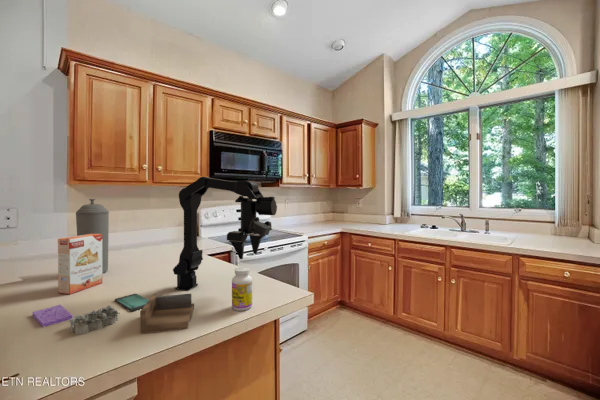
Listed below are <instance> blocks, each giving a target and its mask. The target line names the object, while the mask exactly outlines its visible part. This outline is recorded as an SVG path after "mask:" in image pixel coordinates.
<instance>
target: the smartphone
mask: <svg viewBox="0 0 600 400" xmlns="http://www.w3.org/2000/svg"><path fill="white" fill-rule="evenodd" d="M149 300H150V299H148V298H145V297H144V296H142V295H140V294H139V293H132V294H129V295H124V296H121V297H117V298H114V302H115V303H117V304H119V305H120V306H121V308H123V309H125V310H127V311H128V310H129V312H133V313H134V312H136V311H137V310H138V311H141V310H142V309H143V307H144V306H145V305H146V303H147V302H148V301H149ZM140 309H141V310H140Z"/></svg>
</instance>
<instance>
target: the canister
mask: <svg viewBox="0 0 600 400" xmlns="http://www.w3.org/2000/svg"><path fill="white" fill-rule="evenodd" d="M88 200H89V201H90V203H89V204H84V205H82V206H80V208H78V210H77V211H76V212H75V223H76V224H75V225H76V236H80V235H87V234H102V274H104V273H106V272H108V270H109V230H110V229H109V225H110V223H109V217H110V216H109V213H110V212H109V210H108V209H107V208H106V207H105V206H104V205H102V204H98V203H97V204H95V201H96V199H95V198H89V199H88Z"/></svg>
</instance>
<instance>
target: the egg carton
mask: <svg viewBox="0 0 600 400" xmlns="http://www.w3.org/2000/svg"><path fill="white" fill-rule="evenodd" d="M118 315H120V312H118V310H117V309H115V308H114V307H112V306H111V305H107V306H106V307H103V308H101V309H100V308H99V309H97V310H92V311H90V312H87V313H85V314H77V315H73V318H72V319H69V321H68V323H70V331H71V332H75V335H76V336H78V335H86V334H89V332H90V331H92V330H100V329H102V328H103V326H108V325H113V324H116V322H118V321H119V320H118V317H119V316H118Z"/></svg>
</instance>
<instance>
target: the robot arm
mask: <svg viewBox="0 0 600 400" xmlns="http://www.w3.org/2000/svg"><path fill="white" fill-rule="evenodd" d="M209 189H216V190H221V191H223V190H224V191H229V192H232V193H234V194H236V195H239V196H238V197H237V198H236V199H235V200H234V202H235V203H240V216H239V217H237V218H238V219H237V220H238V221H240V227H239V228H237V229H238V230H233V231H228V233H226V241H228V242H229V243H231V245H232V247H233V249H234V250H235V252H236V254H237V256H238V258H239V260H243V259H244V251H245V245H246V243H247V242H248V240H247V239H248V237H249V241H250V243H251V244H250V245H251V248H252V252H253V255H257V253H258V250H259V247H260V244H261V241H262V240H263V239H264V238H265V237H266V236H269V234H270V232H271V231H272V230H273V228H272V222H271V221H270V220H267V221H265V222H262V221H260V217H259V216H276V214H277V211H278V205H277V201H276V200H275V199H276V198H275V196H264V194H262V192H261V191H260V189H259V185H258V183H257V182H256V181H254V180H235V181H234V180H226V179H220V178H213V177H209V176H200V177H199V178H197V179H196V180H195V181H194V182H192V183H190V184H188V185H187V186H186V187H183V188H182V189H181V190H179V192H178V200H179V205H180V207H181V208H182V210H183V247H182V249H181V252H180V254H179V259H178V263H177V264H176V265H175V266H174V267H173V268H172V272H173V275H175V276H176V287H174V290H181V291H190V290H192V289H193V288H195V287H197V286H198V285H199V284H198V283H197V275H196V271H197V270H199V266H200V265H201V264H202V261H203V260H204V258H203V249H199V247H198V209H199V208H200V206H201V202H202V197H203V196H204V195H205V194H206V193H207V192H208V190H209ZM257 214H258V215H259V216H257Z"/></svg>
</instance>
